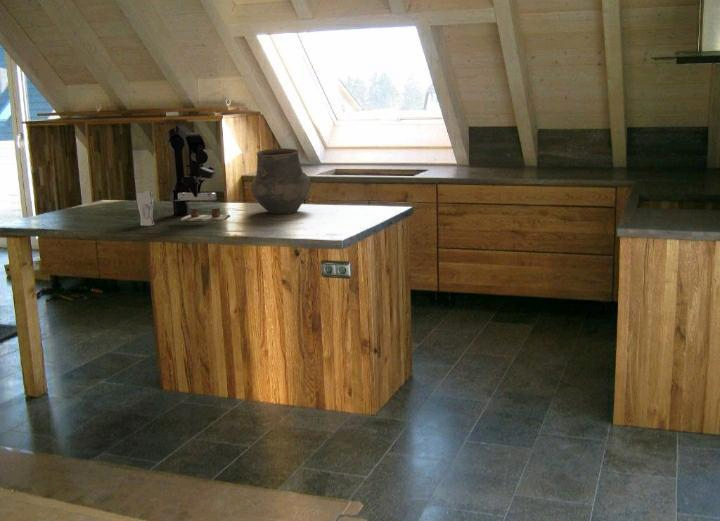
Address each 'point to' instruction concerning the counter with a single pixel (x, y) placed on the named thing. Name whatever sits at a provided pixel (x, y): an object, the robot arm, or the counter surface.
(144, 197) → the beer glass
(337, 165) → the counter surface
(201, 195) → the grey rod with balls
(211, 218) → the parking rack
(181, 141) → the robot arm
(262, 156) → the ceramic pot
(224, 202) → the counter surface
